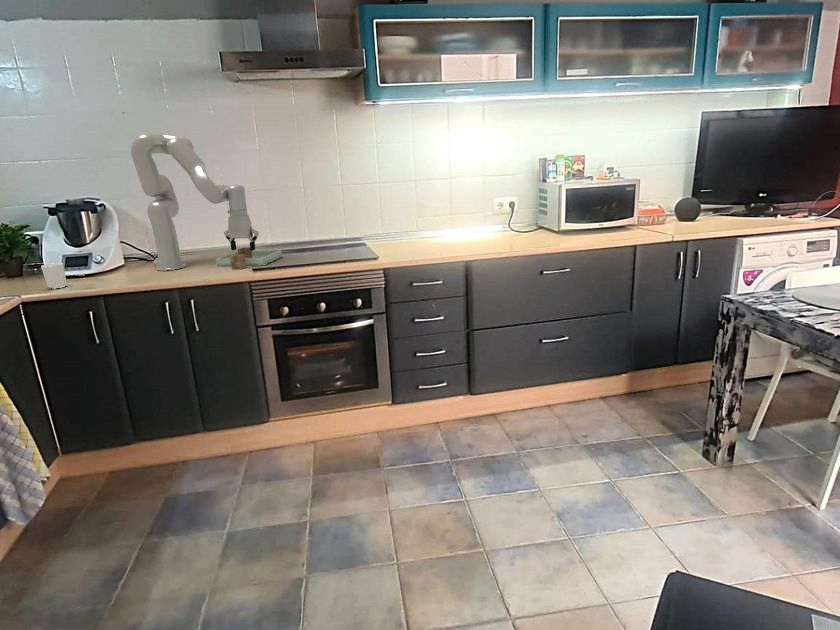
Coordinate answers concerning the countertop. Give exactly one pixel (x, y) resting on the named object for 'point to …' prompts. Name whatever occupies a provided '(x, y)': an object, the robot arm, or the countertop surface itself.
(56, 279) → the white cup
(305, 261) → the countertop surface
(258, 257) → the tray
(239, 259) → the oak block
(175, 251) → the robot arm
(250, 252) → the walnut block
